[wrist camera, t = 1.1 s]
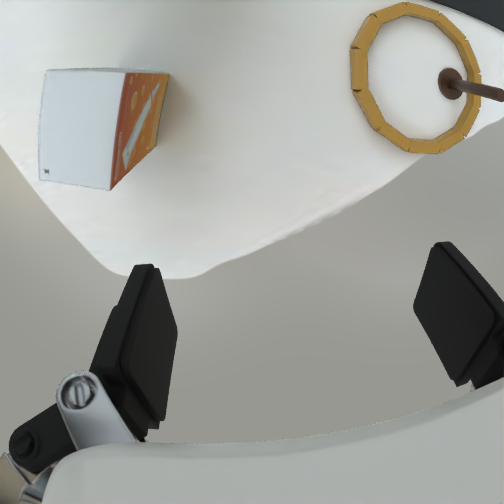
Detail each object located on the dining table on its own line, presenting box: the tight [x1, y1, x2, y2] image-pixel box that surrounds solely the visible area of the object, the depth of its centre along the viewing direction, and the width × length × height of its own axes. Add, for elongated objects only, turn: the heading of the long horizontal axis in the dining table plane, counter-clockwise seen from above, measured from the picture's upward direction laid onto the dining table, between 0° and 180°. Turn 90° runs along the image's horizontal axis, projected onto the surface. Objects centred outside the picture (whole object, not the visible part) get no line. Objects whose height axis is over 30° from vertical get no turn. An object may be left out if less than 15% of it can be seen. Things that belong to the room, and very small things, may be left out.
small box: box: [38, 68, 169, 191], centre depth 21 cm, size 8×6×13 cm
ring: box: [350, 2, 481, 154], centre depth 24 cm, size 18×18×1 cm
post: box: [438, 68, 504, 102], centre depth 21 cm, size 4×4×9 cm
